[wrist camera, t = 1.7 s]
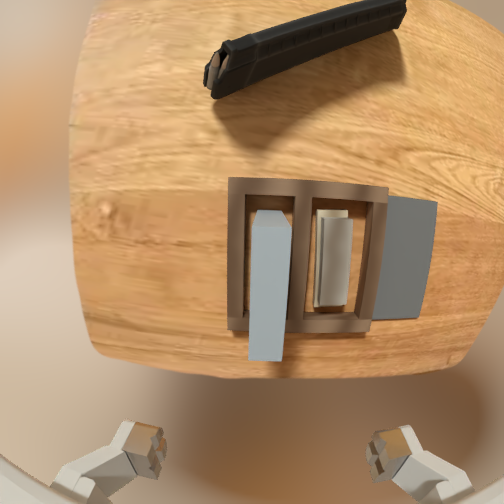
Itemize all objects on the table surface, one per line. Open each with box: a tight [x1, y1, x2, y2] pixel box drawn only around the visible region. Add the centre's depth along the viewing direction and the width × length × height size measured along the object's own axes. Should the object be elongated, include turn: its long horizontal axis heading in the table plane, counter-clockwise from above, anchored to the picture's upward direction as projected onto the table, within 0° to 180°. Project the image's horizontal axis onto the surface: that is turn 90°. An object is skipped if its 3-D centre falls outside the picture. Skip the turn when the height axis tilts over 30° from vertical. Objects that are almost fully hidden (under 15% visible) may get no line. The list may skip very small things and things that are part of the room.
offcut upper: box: [317, 217, 353, 305], centre depth 34 cm, size 4×11×2 cm, turn 1°
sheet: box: [248, 210, 292, 361], centre depth 30 cm, size 3×12×15 cm, turn 179°
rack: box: [227, 177, 389, 333], centre depth 36 cm, size 20×20×2 cm
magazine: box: [203, 0, 407, 99], centre depth 25 cm, size 17×3×30 cm
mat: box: [372, 195, 438, 320], centre depth 36 cm, size 9×18×1 cm, turn 178°
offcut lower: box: [313, 209, 348, 307], centre depth 36 cm, size 4×13×2 cm, turn 1°
